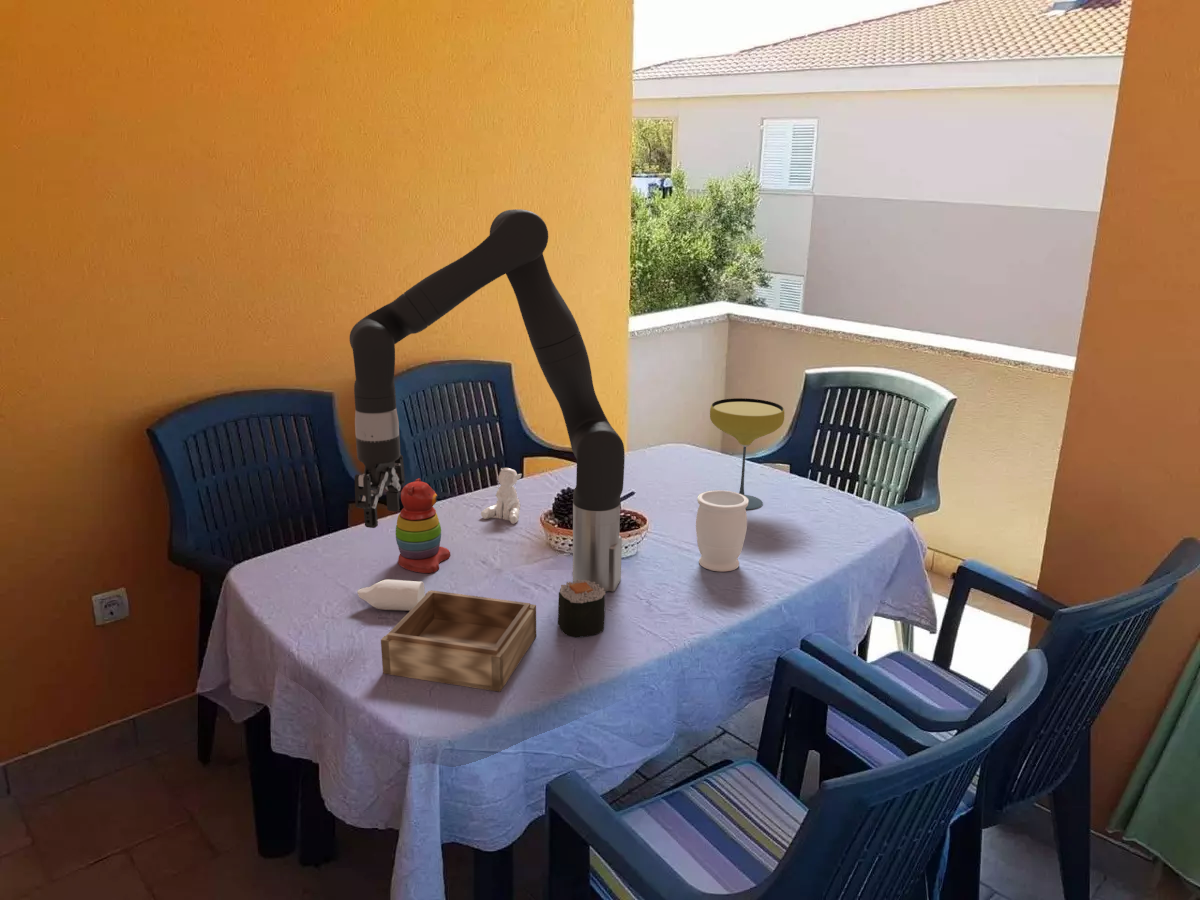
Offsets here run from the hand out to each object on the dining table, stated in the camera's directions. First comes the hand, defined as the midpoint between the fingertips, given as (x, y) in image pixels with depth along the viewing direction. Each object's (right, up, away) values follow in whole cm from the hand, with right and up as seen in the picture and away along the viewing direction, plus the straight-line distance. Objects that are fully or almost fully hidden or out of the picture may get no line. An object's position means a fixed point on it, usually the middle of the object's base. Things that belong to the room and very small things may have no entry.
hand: (382, 518), depth 162 cm
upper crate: (+16, -22, -10) cm, 30 cm away
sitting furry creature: (+17, -3, +52) cm, 54 cm away
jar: (+65, -12, +27) cm, 71 cm away
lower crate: (+16, -22, -10) cm, 30 cm away
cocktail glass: (+75, -1, +62) cm, 98 cm away
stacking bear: (+2, -11, +26) cm, 28 cm away
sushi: (+36, -20, 0) cm, 41 cm away
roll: (0, -18, +6) cm, 18 cm away
